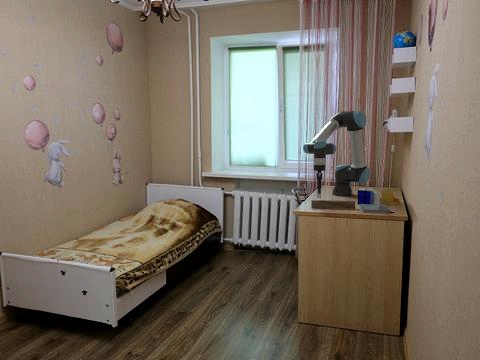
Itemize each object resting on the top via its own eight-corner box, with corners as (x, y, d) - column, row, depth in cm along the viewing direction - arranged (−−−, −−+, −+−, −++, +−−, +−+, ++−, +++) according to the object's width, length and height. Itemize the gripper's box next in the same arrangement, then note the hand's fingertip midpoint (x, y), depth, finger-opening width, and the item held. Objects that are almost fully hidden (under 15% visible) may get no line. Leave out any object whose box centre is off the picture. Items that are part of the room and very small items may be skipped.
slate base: (360, 206, 269) (360, 204, 269) (385, 206, 266) (385, 204, 266) (363, 212, 251) (363, 209, 251) (390, 212, 249) (390, 210, 249)
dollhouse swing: (387, 205, 271) (387, 191, 270) (379, 202, 281) (379, 189, 279) (401, 204, 274) (401, 191, 272) (392, 202, 283) (393, 189, 282)
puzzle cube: (357, 204, 275) (357, 190, 274) (359, 201, 285) (359, 187, 283) (372, 205, 271) (373, 190, 270) (374, 202, 280) (374, 188, 279)
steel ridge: (370, 204, 268) (370, 189, 266) (374, 204, 267) (375, 189, 266) (374, 209, 250) (374, 194, 249) (379, 210, 250) (380, 194, 248)
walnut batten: (311, 207, 270) (311, 199, 269) (354, 208, 264) (354, 200, 264) (311, 208, 266) (311, 200, 266) (355, 209, 261) (355, 201, 260)
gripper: (313, 162, 276) (313, 193, 278) (313, 166, 251) (313, 199, 254) (324, 162, 274) (324, 193, 277) (326, 166, 250) (325, 200, 253)
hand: (318, 196), depth 266 cm, fingers open, 13 cm apart
